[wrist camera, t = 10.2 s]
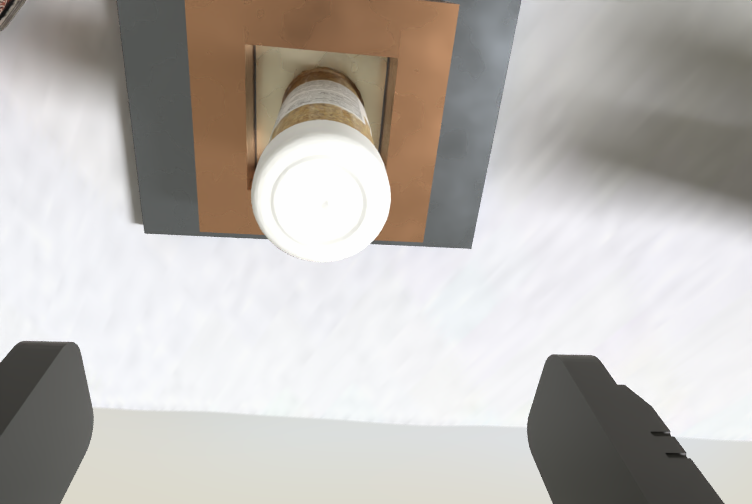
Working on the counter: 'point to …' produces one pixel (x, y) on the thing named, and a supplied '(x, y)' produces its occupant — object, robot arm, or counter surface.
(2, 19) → the lighter
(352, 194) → the spice jar
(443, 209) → the collar deck
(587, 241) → the counter surface
